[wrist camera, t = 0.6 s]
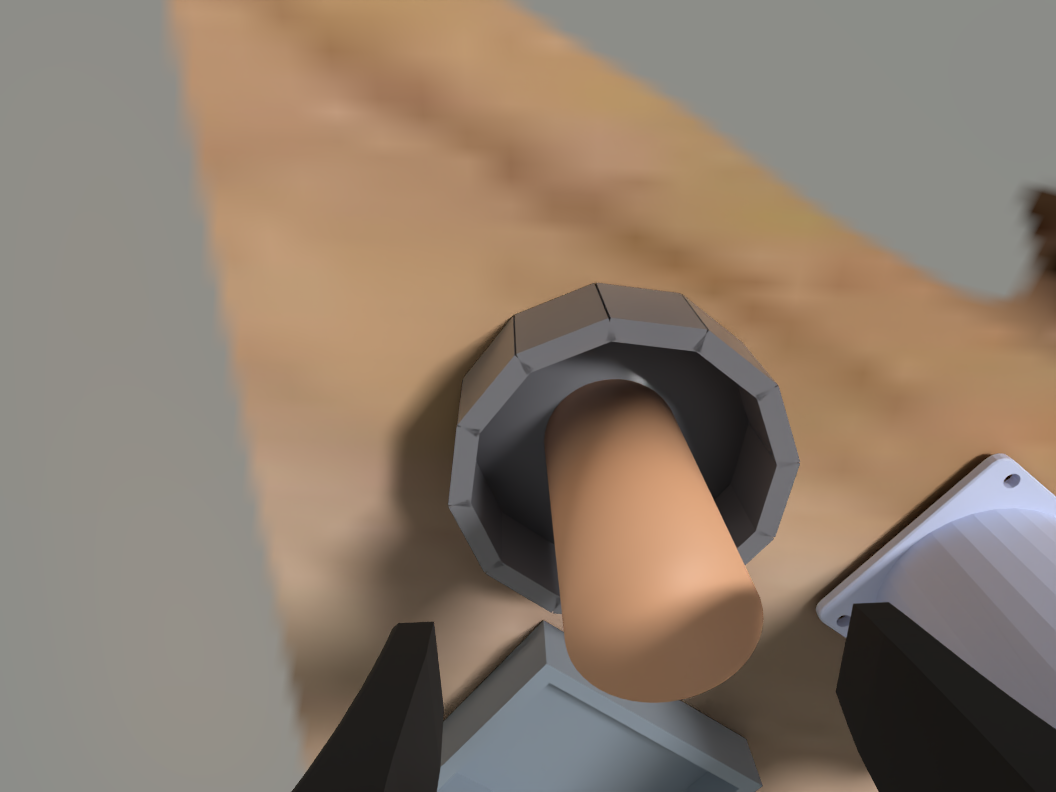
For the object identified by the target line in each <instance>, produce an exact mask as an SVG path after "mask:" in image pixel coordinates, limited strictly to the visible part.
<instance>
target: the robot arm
mask: <svg viewBox="0 0 1056 792" xmlns="http://www.w3.org/2000/svg"><path fill="white" fill-rule="evenodd" d="M1011 474H1012V476H1011V477H1010V478H1009V479H1008V480H1006V481H1004V480H1005V478H1006V477H1007V476H1009V475H1011ZM816 612H817V615H818V616H819V618H820V620H821V621H822V622H823V623H825V624H826V625H827V626H829V627H830V628H832V629H833V630H835V631H836V632H838V633H839V634H841V635H842V636H844V637H845V638H846V643H845V648H844V653H843V658H842V663H841V668H840V673H839V678H838V683H837V688H836V694H837V696H838V699H839V702H840V705H841V707H842V710H843V713H844V716H845V719H846V721H847V724H848V727H849V729H850V732H851V734H852V737H853V740H854V742H855V745H856V747H857V750H858V752H859V754H860V756H861V758H862V760H863V762H864V764H865V766H866V768H867V770H868V772H869V774H870V776H871V778H872V780H873V782H874V783H875V785H876V787H877V789H878V791H879V792H1056V496H1054V495H1053V494H1052V493H1051V492H1050V491H1049V490H1048V489H1046V488H1045V487H1044V486H1043V485H1042V484H1041V483H1039V482H1038V481H1037V480H1036V479H1035V478H1034V477H1033V476H1031V475H1030V474H1029V473H1028V472H1027V471H1026V470H1024V469H1023V468H1022V467H1021V466H1020V465H1019V464H1018V463H1016V462H1015V461H1014V460H1013V459H1011V458H1010V457H1009V456H1007V455H1005V454H994V455H991V456H990V457H988V458H986V459H985V460H984V461H983V462H982V463H980V464H979V465H978V466H977V467H976V468H975V469H973V470H972V471H971V472H970V473H969V474H968V475H966V476H965V477H964V478H963V479H962V480H961V481H959V482H958V483H957V484H956V485H955V486H954V487H952V488H951V489H950V490H949V491H948V492H947V493H945V494H944V495H943V496H942V497H941V498H940V499H938V500H937V501H936V502H935V503H934V504H933V505H931V506H930V507H929V508H928V509H927V510H926V511H924V512H923V513H922V514H921V515H920V516H919V517H917V518H916V519H915V520H914V521H913V522H912V523H910V524H909V525H908V526H907V527H906V528H905V529H903V530H902V531H901V532H900V533H899V534H898V535H896V536H895V537H894V538H893V539H892V540H891V541H889V542H888V543H887V544H886V545H885V546H884V547H882V548H881V549H880V550H879V551H878V552H877V553H875V554H874V555H873V556H872V557H871V558H870V559H868V560H867V561H866V562H865V563H864V564H863V565H861V566H860V567H859V568H858V569H857V570H856V571H854V572H853V573H852V574H851V575H850V576H849V577H847V578H846V579H845V580H844V581H843V582H842V583H840V584H839V585H838V586H837V587H836V588H835V589H833V590H832V591H831V592H830V593H829V594H828V595H826V596H825V597H824V598H823V599H822V600H821V601H820V602H819V603H818V604H817V607H816ZM843 615H845V617H843V618H841V619H838V618H839V617H841V616H843ZM443 714H444V707H443V698H442V689H441V680H440V671H439V662H438V653H437V645H436V636H435V627H434V622H417V623H398V624H397V625H396V626H395V627H394V628H393V629H392V631H391V633H390V635H389V637H388V640H387V642H386V644H385V646H384V648H383V650H382V652H381V654H380V655H379V657H378V659H377V661H376V663H375V665H374V667H373V668H372V670H371V672H370V674H369V676H368V677H367V679H366V681H365V683H364V684H363V686H362V688H361V689H360V691H359V693H358V694H357V696H356V698H355V699H354V701H353V702H352V704H351V706H350V707H349V709H348V711H347V712H346V714H345V715H344V717H343V719H342V720H341V722H340V724H339V725H338V727H337V728H336V730H335V731H334V733H333V734H332V736H331V737H330V739H329V740H328V741H327V743H326V744H325V746H324V747H323V749H322V750H321V752H320V753H319V754H318V756H317V757H316V759H315V760H314V762H313V763H312V764H311V766H310V767H309V769H308V770H307V772H306V773H305V774H304V776H303V777H302V779H301V780H300V781H299V783H298V784H297V785H296V786H295V788H294V789H293V790H292V792H437V788H438V781H439V775H440V766H441V750H442V733H443Z"/></svg>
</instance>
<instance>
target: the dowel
mask: <svg viewBox="0 0 1056 792" xmlns="http://www.w3.org/2000/svg"><path fill="white" fill-rule="evenodd" d="M544 447H545V457H546V466H547V476H548V486H549V495H550V505H551V514H552V524H553V533H554V543H555V552H556V562H557V571H558V581H559V590H560V600H561V609H562V619H563V628H564V638H565V644H566V649H567V652H568V655H569V657H570V660H571V662H572V663H573V665H574V666H575V668H576V670H577V671H578V672H579V673H580V674H581V675H582V676H583V677H584V678H585V679H586V680H587V681H588V682H589V683H590V684H592V685H593V686H595V687H597V688H598V689H600V690H602V691H604V692H606V693H608V694H610V695H613V696H615V697H618V698H621V699H626V700H630V701H636V702H646V703H660V702H671V701H677V700H682V699H686V698H690V697H693V696H696V695H699V694H701V693H704V692H706V691H708V690H710V689H712V688H714V687H716V686H718V685H719V684H721V683H723V682H724V681H726V680H727V679H728V678H730V677H731V676H732V675H734V674H735V673H736V672H737V671H738V670H739V669H740V668H741V667H742V666H743V665H744V664H745V663H746V661H747V660H748V659H749V658H750V656H751V655H752V653H753V651H754V650H755V648H756V646H757V644H758V641H759V639H760V636H761V632H762V627H763V608H762V604H761V600H760V597H759V595H758V592H757V590H756V588H755V586H754V584H753V582H752V580H751V578H750V575H749V573H748V571H747V569H746V567H745V565H744V563H743V561H742V559H741V556H740V554H739V552H738V550H737V548H736V546H735V544H734V542H733V540H732V537H731V535H730V533H729V531H728V529H727V527H726V525H725V523H724V521H723V518H722V516H721V514H720V512H719V510H718V508H717V506H716V504H715V502H714V499H713V497H712V495H711V493H710V491H709V489H708V487H707V485H706V483H705V480H704V478H703V476H702V474H701V472H700V470H699V468H698V466H697V464H696V461H695V459H694V457H693V455H692V453H691V451H690V449H689V447H688V445H687V442H686V440H685V438H684V436H683V434H682V432H681V430H680V428H679V426H678V423H677V421H676V419H675V417H674V415H673V413H672V411H671V409H670V407H669V406H668V404H667V403H666V402H665V401H664V399H663V398H662V397H661V396H660V395H658V394H657V393H656V392H655V391H653V390H652V389H650V388H649V387H647V386H644V385H642V384H640V383H637V382H633V381H629V380H623V379H608V380H601V381H596V382H593V383H590V384H587V385H585V386H582V387H580V388H578V389H577V390H575V391H573V392H572V393H570V394H569V395H568V396H567V397H565V398H564V399H563V400H562V401H561V402H560V403H559V404H558V406H557V407H556V408H555V410H554V411H553V413H552V415H551V416H550V418H549V421H548V423H547V426H546V430H545V437H544Z"/></svg>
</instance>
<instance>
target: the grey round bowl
mask: <svg viewBox="0 0 1056 792" xmlns="http://www.w3.org/2000/svg"><path fill="white" fill-rule="evenodd" d="M608 379H623V380H629V381H633V382H637V383H640V384H642V385H644V386H647V387H649V388H650V389H652V390H653V391H655V392H656V393H657V394H658V395H660V396H661V397H662V398H663V399H664V401H665V402H666V403H667V404H668V406H669V407H670V409H671V411H672V413H673V415H674V417H675V419H676V421H677V423H678V426H679V428H680V430H681V432H682V434H683V436H684V438H685V440H686V442H687V445H688V447H689V449H690V451H691V453H692V455H693V457H694V459H695V461H696V464H697V466H698V468H699V470H700V472H701V474H702V476H703V478H704V480H705V483H706V485H707V487H708V489H709V491H710V493H711V495H712V497H713V499H714V502H715V504H716V506H717V508H718V510H719V512H720V514H721V516H722V518H723V521H724V523H725V525H726V527H727V529H728V531H729V533H730V535H731V537H732V540H733V542H734V544H735V546H736V548H737V550H738V552H739V554H740V556H741V559H742V561H743V563H744V565H746V564H747V563H748V562H749V561H750V560H751V559H752V558H754V557H755V556H756V555H757V554H758V553H759V552H760V551H761V550H762V549H763V548H764V547H766V546H767V545H768V544H769V543H770V542H771V541H772V540H773V539H774V538H773V537H775V536H776V533H777V530H778V527H779V524H780V521H781V518H782V515H783V512H784V509H785V506H786V503H787V500H788V497H789V494H790V491H791V489H792V486H793V483H794V480H795V477H796V474H797V471H798V468H799V465H800V463H799V462H800V460H799V456H798V453H797V449H796V446H795V442H794V439H793V435H792V432H791V428H790V425H789V421H788V418H787V414H786V411H785V407H784V404H783V400H782V397H781V393H780V390H779V386H778V385H777V383H776V382H775V381H774V380H773V379H772V377H771V376H770V375H769V374H768V373H767V371H766V370H765V369H764V368H763V367H762V365H761V364H760V363H759V362H758V361H757V359H756V358H755V357H754V356H753V355H752V353H751V352H750V351H749V350H748V349H747V347H746V346H745V345H744V344H743V343H742V342H741V341H740V340H739V339H737V338H736V337H735V336H734V335H732V334H731V333H730V332H729V331H727V330H726V329H725V328H724V327H723V326H721V325H720V324H719V323H718V322H716V321H715V320H714V319H713V318H711V317H710V316H709V315H708V314H706V313H705V312H704V311H703V310H701V309H700V308H699V307H698V306H696V305H695V304H694V303H693V302H691V301H690V300H689V299H688V298H686V297H685V296H684V295H683V294H682V295H681V294H680V293H674V292H666V291H658V290H650V289H642V288H634V287H627V286H619V285H611V284H603V283H596V286H595V284H594V283H593V284H590V285H588V286H585V287H583V288H580V289H578V290H575V291H573V292H570V293H568V294H565V295H563V296H560V297H558V298H555V299H553V300H550V301H548V302H545V303H543V304H540V305H538V306H535V307H533V308H530V309H528V310H525V311H523V312H520V313H518V314H515V317H514V316H513V317H512V318H511V319H510V320H509V322H508V323H507V324H506V325H505V327H504V328H503V329H502V330H501V332H500V333H499V334H498V335H497V337H496V338H495V339H494V340H493V342H492V343H491V344H490V345H489V347H488V348H487V349H486V350H485V352H484V353H483V354H482V355H481V357H480V358H479V359H478V360H477V362H476V363H475V364H474V365H473V367H472V368H471V369H470V370H469V372H468V373H467V374H466V375H465V377H464V378H463V381H462V389H461V397H460V404H459V412H458V420H457V429H456V438H455V447H454V456H453V465H452V475H451V484H450V493H449V502H448V505H449V509H450V510H451V512H452V514H453V516H454V518H455V520H456V521H457V523H458V525H459V527H460V529H461V531H462V533H463V534H464V536H465V538H466V540H467V542H468V544H469V545H470V547H471V549H472V551H473V553H474V555H475V556H476V558H477V560H478V562H479V564H480V566H481V567H482V569H483V571H484V572H486V574H487V575H489V576H490V577H492V578H494V579H495V580H497V581H499V582H500V583H502V584H504V585H506V586H507V587H509V588H511V589H512V590H514V591H516V592H517V593H519V594H521V595H522V596H524V597H526V598H527V599H529V600H531V601H533V602H534V603H536V604H538V605H539V606H541V607H543V608H544V609H546V610H548V611H549V612H552V611H553V613H556V614H562V609H561V600H560V590H559V581H558V571H557V562H556V552H555V543H554V533H553V524H552V514H551V505H550V495H549V486H548V476H547V466H546V457H545V447H544V437H545V430H546V426H547V423H548V421H549V418H550V416H551V415H552V413H553V411H554V410H555V408H556V407H557V406H558V404H559V403H560V402H561V401H562V400H563V399H564V398H565V397H567V396H568V395H569V394H570V393H572V392H573V391H575V390H577V389H578V388H580V387H582V386H585V385H587V384H590V383H593V382H596V381H601V380H608Z"/></svg>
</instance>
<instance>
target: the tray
mask: <svg viewBox="0 0 1056 792" xmlns="http://www.w3.org/2000/svg"><path fill="white" fill-rule="evenodd" d="M762 786H763V785H762V783H761V780H760V777H759V774H758V771H757V769H756V766H755V763H754V760H753V757H752V754H751V752H750V749H749V746H748V743H747V740H746V739H745V738H743V737H742V736H740V735H738V734H737V733H735V732H733V731H731V730H730V729H728V728H726V727H725V726H723V725H721V724H719V723H718V722H716V721H714V720H713V719H711V718H709V717H708V716H706V715H704V714H702V713H701V712H699V711H697V710H696V709H694V708H692V707H690V706H689V705H687V704H685V703H684V702H682V701H680V700H677V701H671V702H660V703H646V702H636V701H630V700H626V699H621V698H618V697H615V696H613V695H610V694H608V693H606V692H604V691H602V690H600V689H598V688H597V687H595V686H593V685H592V684H590V683H589V682H588V681H587V680H586V679H585V678H584V677H583V676H582V675H581V674H580V673H579V672H578V671H577V670H576V668H575V666H574V665H573V663H572V662H571V660H570V657H569V655H568V652H567V649H566V644H565V638H564V632H563V631H561V630H559V629H557V628H556V627H554V626H552V625H551V624H549V623H547V622H546V621H544V620H543V621H542V622H541V623H540V624H539V625H538V626H537V627H536V628H535V629H534V631H533V632H532V633H531V634H530V635H529V636H528V637H527V638H526V639H525V640H524V641H523V642H522V643H521V644H520V645H519V646H518V647H517V648H516V649H515V650H514V651H513V652H512V653H511V654H510V655H509V656H508V657H507V658H506V659H505V660H504V661H503V662H502V663H501V664H500V665H499V666H498V667H497V668H496V669H495V670H494V671H493V672H492V673H491V674H490V675H489V676H488V677H487V678H486V679H485V680H484V681H483V682H482V683H481V684H480V685H479V686H478V687H477V688H476V689H475V690H474V691H473V692H472V693H471V694H470V695H469V696H468V697H467V698H466V699H465V700H464V701H463V702H462V703H461V704H460V705H459V706H458V707H457V708H456V709H455V710H454V711H453V712H452V713H451V714H450V715H449V716H448V717H447V718H446V719H445V720H444V721H443V733H442V750H441V766H440V775H439V781H438V788H437V792H755V791H757V790H758V789H759V788H761V787H762Z"/></svg>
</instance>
